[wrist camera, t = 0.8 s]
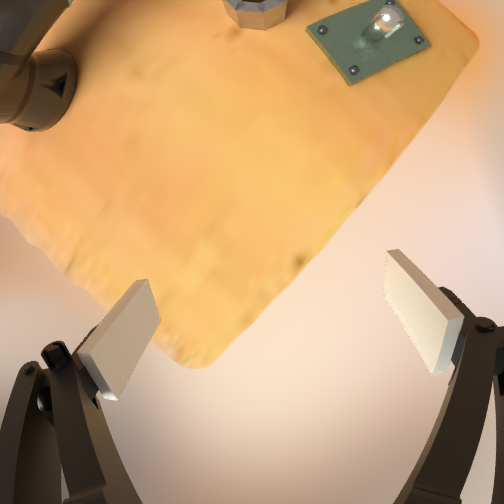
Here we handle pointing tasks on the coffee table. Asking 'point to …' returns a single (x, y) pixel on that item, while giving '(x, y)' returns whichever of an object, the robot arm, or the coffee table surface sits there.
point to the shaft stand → (367, 38)
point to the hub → (256, 13)
